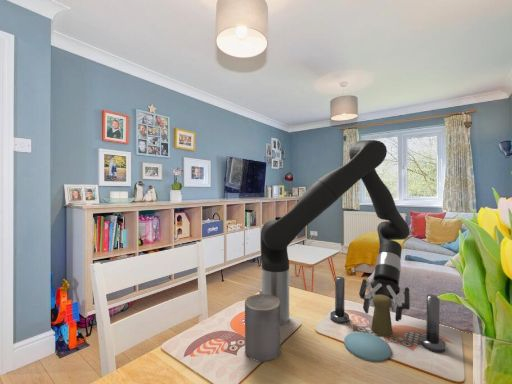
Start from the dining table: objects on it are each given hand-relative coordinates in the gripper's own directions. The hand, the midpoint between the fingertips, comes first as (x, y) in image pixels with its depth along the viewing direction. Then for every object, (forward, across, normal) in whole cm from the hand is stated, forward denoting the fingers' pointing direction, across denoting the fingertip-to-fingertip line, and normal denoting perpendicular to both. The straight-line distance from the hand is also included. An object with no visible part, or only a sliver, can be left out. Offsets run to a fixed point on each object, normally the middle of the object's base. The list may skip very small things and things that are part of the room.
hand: (381, 316), depth 80 cm
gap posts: (+3, 0, +5) cm, 5 cm away
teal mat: (+11, -2, -3) cm, 11 cm away
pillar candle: (+23, -25, -16) cm, 38 cm away
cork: (+3, 0, +5) cm, 6 cm away
